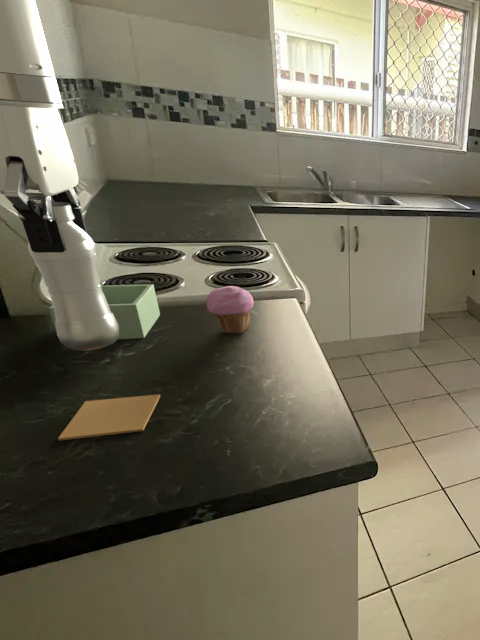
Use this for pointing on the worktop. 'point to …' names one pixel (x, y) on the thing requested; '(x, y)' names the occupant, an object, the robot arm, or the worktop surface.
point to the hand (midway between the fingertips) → (61, 243)
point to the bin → (130, 308)
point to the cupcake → (230, 308)
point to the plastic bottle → (76, 287)
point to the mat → (110, 417)
